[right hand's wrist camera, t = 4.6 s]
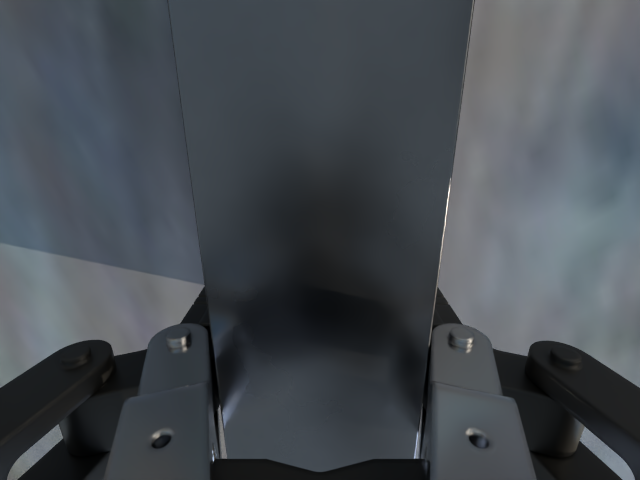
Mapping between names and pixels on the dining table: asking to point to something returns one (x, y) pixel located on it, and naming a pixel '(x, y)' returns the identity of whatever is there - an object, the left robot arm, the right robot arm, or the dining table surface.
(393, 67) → the bar
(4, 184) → the dining table surface
